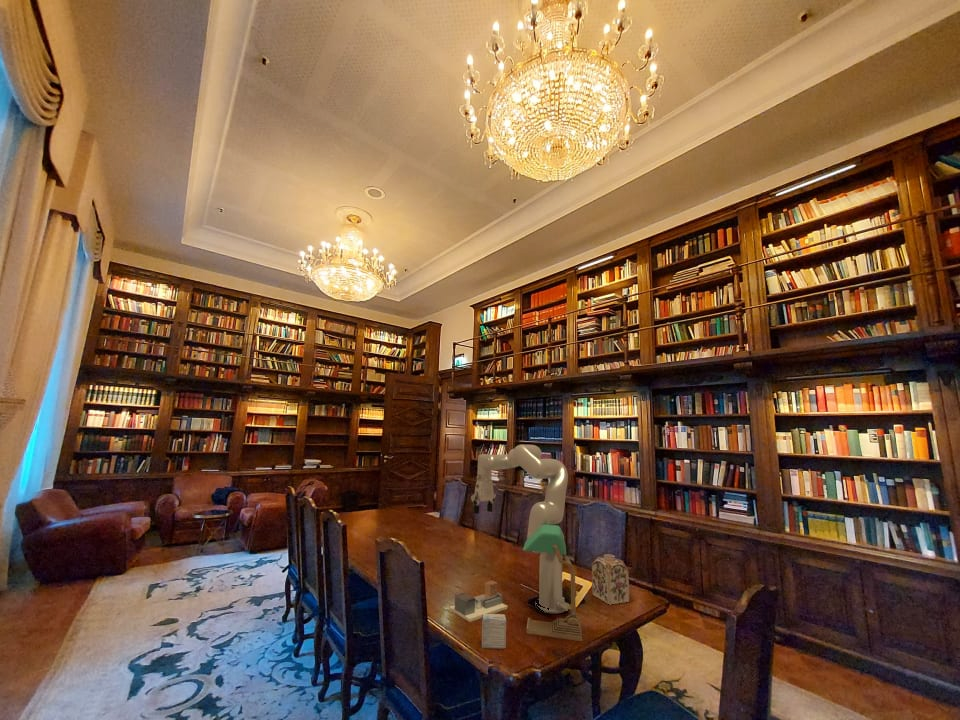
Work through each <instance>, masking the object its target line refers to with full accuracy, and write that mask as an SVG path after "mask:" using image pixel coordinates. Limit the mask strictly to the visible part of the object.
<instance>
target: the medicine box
mask: <svg viewBox="0 0 960 720" xmlns="http://www.w3.org/2000/svg"><path fill="white" fill-rule="evenodd" d="M481 620H482V621H481V622H482V623H481V649H506V648H507V647H506V643H507V637H506V636H507V635H506V634H507V618H506V615H505V614H501V613H500V614H499V613H494V614H482V618H481Z"/></svg>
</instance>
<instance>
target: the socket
mask: <svg viewBox="0 0 960 720" xmlns="http://www.w3.org/2000/svg"><path fill="white" fill-rule="evenodd" d="M474 597H475V596H472V595H470V594H468V593H466V592H463V593H459V594H456V595H455V596H454V605H455V608H454V609H455V610H456V611H458V612H460V613H461V614H463V615H465V616H466V615H469V614H472V613H475V598H474Z"/></svg>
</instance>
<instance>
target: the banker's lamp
mask: <svg viewBox="0 0 960 720" xmlns="http://www.w3.org/2000/svg"><path fill="white" fill-rule="evenodd" d="M562 532H563V531H562V528H561V527H560V526H559V525H556V524H553V525H542V526H541V527H540V528H539V529H538V530H537V531H536V532H535V533H534V534H533V535H532V536H531V537H530V538H529V539H528V540H527V539H526V541H525V542H524V546H523V548H522V551H525V552H526V551H527V552H533V551H535V552H545V553H555V554H556V555H557V558H558V561H559V562H560V563H562V565H566V566H567V567H568V570H569V573H570V614H569V615H567V616H565V618H562V617H557V618H556V619H555V620H552V621H544V620H535V619H531V617H528V618H527V623H526V631H525V632H526V634H528V635H535V636H542V637H548V638H557V639H563V640H570V641H577V642H583V633H582V632H583V631H582V625H581V620H580V619H581V618H580V616H579V615H577V614H576V613H577V612H576V610H577V609H576V573H575V568H574V566H573V564H572V562H571V560H570V559H569V557H568V556H567V545H566V542H565V536H564V537H563V535H564V533H563V534H562ZM561 555H562V556H561Z"/></svg>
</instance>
